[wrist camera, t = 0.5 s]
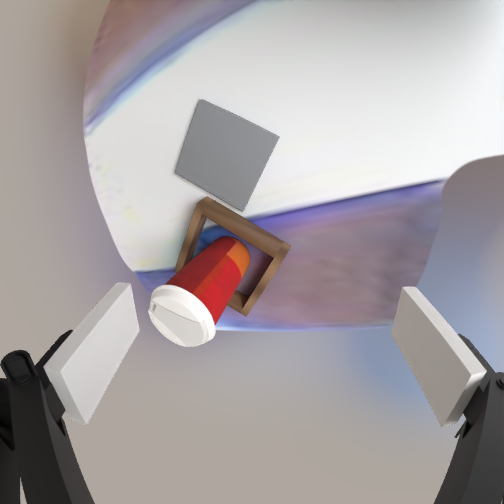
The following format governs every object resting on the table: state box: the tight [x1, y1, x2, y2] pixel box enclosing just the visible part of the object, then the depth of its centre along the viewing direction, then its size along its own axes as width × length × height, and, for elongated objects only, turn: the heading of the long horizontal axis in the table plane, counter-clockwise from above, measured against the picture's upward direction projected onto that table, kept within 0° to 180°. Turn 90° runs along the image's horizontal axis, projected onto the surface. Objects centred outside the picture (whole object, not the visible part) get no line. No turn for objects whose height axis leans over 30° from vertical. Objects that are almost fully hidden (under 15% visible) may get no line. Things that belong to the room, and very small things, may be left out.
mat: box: [175, 100, 279, 212], centre depth 33 cm, size 10×10×1 cm
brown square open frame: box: [175, 196, 291, 316], centre depth 40 cm, size 12×12×2 cm
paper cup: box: [148, 236, 250, 347], centre depth 35 cm, size 8×8×14 cm
